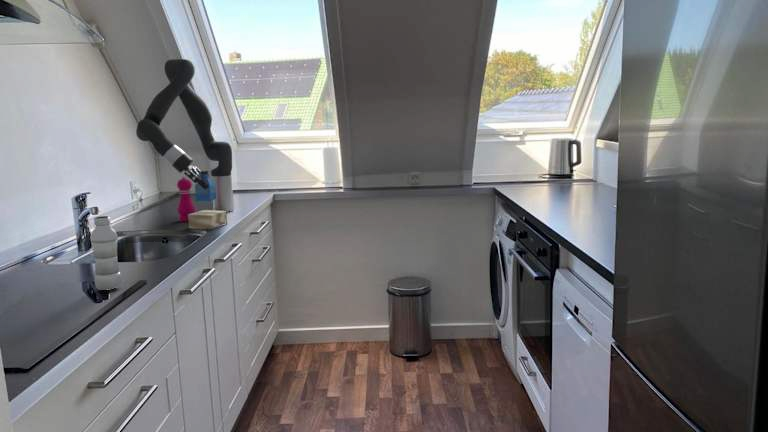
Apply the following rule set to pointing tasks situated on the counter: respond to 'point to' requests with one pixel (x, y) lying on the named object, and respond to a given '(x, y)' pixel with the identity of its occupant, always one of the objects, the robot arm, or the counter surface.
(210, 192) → the perfume bottle
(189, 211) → the pepper mill
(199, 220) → the birch block
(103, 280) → the plastic bottle
